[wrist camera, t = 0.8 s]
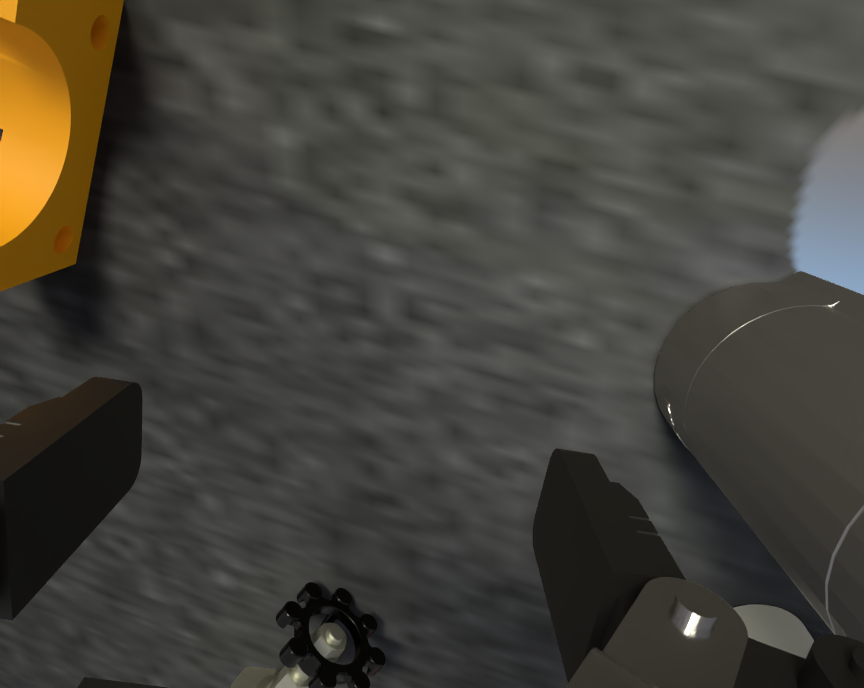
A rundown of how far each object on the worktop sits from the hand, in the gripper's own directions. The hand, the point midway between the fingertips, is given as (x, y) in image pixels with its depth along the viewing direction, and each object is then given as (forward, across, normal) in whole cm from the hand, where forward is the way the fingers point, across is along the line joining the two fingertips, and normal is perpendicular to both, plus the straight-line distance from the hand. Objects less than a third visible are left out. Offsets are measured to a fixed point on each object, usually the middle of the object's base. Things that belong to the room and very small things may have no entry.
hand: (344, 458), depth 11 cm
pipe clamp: (+18, +16, -4) cm, 25 cm away
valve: (+19, +3, +25) cm, 31 cm away
